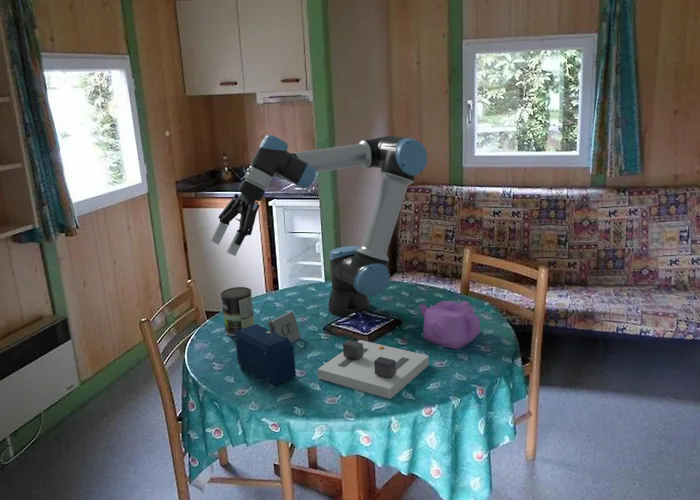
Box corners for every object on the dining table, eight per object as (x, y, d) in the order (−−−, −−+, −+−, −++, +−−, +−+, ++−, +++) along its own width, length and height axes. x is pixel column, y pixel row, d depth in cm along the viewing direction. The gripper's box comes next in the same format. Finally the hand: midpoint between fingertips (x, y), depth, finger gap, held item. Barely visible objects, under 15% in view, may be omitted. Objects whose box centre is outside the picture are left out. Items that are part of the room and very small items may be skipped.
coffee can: (227, 338, 212) (222, 299, 208) (223, 327, 221) (218, 289, 217) (257, 333, 215) (253, 294, 211) (252, 322, 224) (248, 284, 220)
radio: (300, 378, 182) (294, 314, 177) (275, 389, 177) (268, 323, 171) (259, 356, 198) (253, 296, 192) (235, 366, 192) (228, 305, 186)
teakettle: (483, 348, 194) (483, 310, 191) (428, 352, 194) (427, 314, 190) (470, 326, 211) (469, 291, 207) (419, 329, 210) (418, 295, 206)
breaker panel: (360, 348, 199) (359, 338, 198) (428, 365, 185) (428, 354, 185) (318, 378, 182) (317, 368, 181) (390, 399, 168) (389, 388, 167)
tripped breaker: (349, 352, 189) (348, 340, 188) (363, 355, 186) (362, 343, 185) (343, 356, 187) (342, 343, 185) (357, 359, 184) (357, 347, 183)
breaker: (380, 369, 177) (379, 356, 176) (395, 373, 175) (395, 360, 173) (374, 374, 175) (374, 361, 174) (390, 378, 172) (389, 364, 171)
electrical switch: (281, 348, 202) (276, 321, 200) (270, 346, 205) (265, 319, 203) (301, 338, 209) (297, 311, 207) (290, 336, 212) (285, 310, 210)
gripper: (228, 172, 197) (197, 233, 197) (261, 186, 177) (227, 254, 176) (248, 183, 201) (218, 243, 201) (282, 197, 181) (249, 263, 181)
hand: (222, 248), depth 189 cm, fingers open, 13 cm apart
